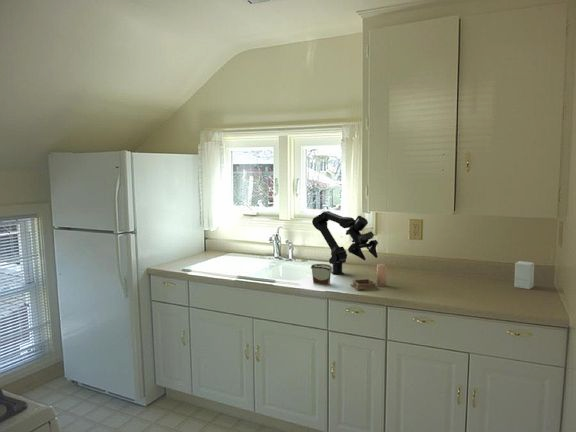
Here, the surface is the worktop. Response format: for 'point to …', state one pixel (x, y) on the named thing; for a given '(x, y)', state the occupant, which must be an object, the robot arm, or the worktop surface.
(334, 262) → the robot arm
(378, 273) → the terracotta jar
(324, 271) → the food container
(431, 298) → the worktop surface
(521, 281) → the supplement box
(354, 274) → the worktop surface
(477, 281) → the worktop surface
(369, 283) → the walnut holder
